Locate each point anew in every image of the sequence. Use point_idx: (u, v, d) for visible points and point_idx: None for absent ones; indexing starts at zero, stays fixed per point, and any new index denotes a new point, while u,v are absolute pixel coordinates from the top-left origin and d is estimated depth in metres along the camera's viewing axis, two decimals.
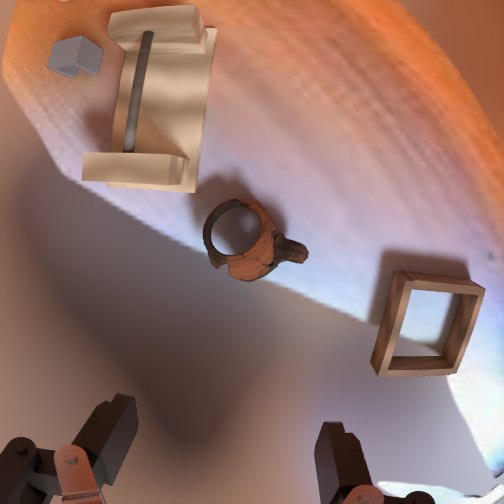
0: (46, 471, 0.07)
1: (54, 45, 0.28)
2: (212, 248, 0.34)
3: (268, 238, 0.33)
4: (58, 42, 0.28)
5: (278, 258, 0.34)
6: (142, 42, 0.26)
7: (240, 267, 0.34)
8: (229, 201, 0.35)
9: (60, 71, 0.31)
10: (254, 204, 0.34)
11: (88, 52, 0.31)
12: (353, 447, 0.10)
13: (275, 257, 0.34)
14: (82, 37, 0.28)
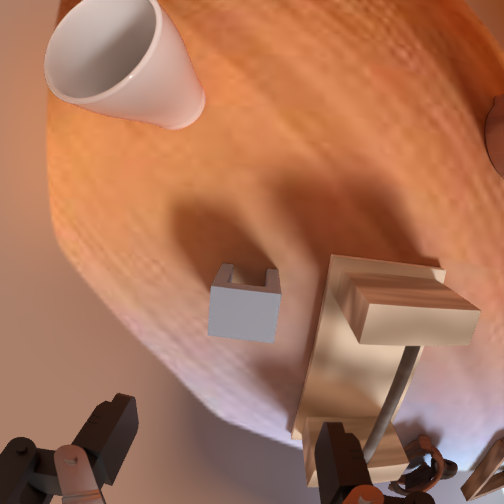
0: (46, 471, 0.07)
1: (214, 295, 0.22)
2: (399, 489, 0.28)
3: None
4: (224, 291, 0.22)
5: (439, 479, 0.29)
6: (409, 360, 0.21)
7: None
8: (416, 454, 0.29)
9: None
10: (436, 455, 0.28)
11: None
12: (353, 447, 0.10)
13: None
14: (280, 297, 0.22)
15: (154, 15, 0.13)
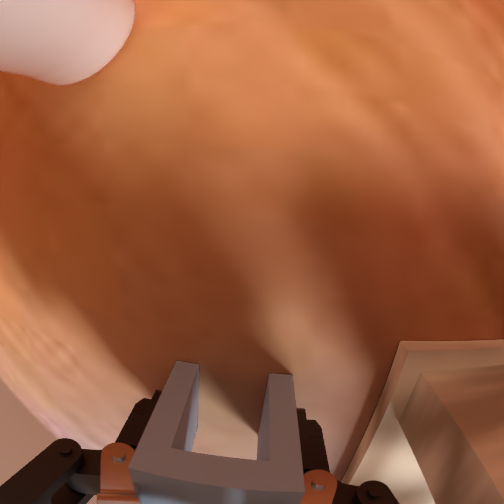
0: (87, 476, 0.07)
1: (142, 482, 0.07)
2: None
3: None
4: (162, 480, 0.07)
5: None
6: None
7: None
8: None
9: None
10: None
11: None
12: (314, 434, 0.11)
13: None
14: (303, 494, 0.07)
15: None
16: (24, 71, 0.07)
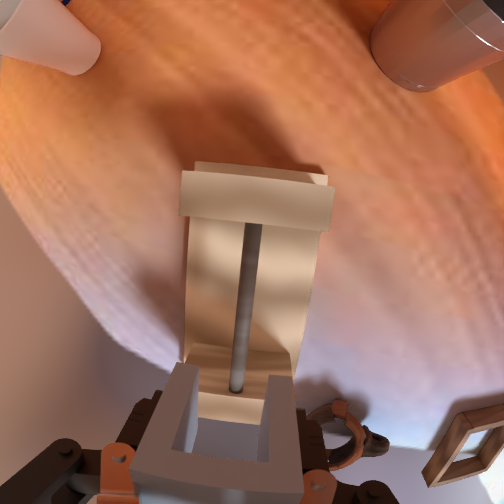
0: (87, 476, 0.07)
1: (142, 483, 0.07)
2: None
3: None
4: (162, 481, 0.07)
5: (365, 456, 0.30)
6: (247, 243, 0.21)
7: None
8: (324, 419, 0.30)
9: None
10: (350, 422, 0.29)
11: None
12: (314, 434, 0.11)
13: (363, 455, 0.30)
14: (302, 496, 0.07)
15: None
16: (62, 69, 0.23)
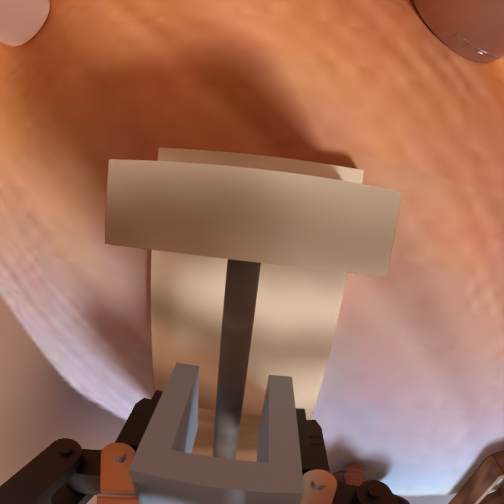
0: (87, 476, 0.07)
1: (142, 483, 0.07)
2: None
3: None
4: (162, 482, 0.07)
5: None
6: (232, 296, 0.11)
7: None
8: None
9: None
10: None
11: None
12: (314, 434, 0.11)
13: None
14: (302, 496, 0.07)
15: None
16: None
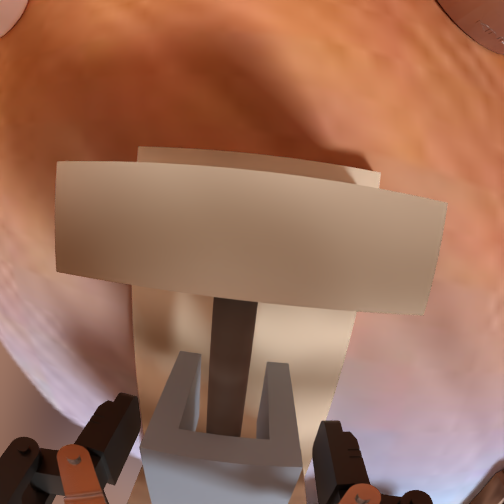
0: (49, 471, 0.07)
1: (151, 461, 0.08)
2: None
3: None
4: (171, 458, 0.08)
5: None
6: (221, 342, 0.08)
7: None
8: None
9: None
10: None
11: None
12: (351, 446, 0.10)
13: None
14: (301, 470, 0.08)
15: None
16: None
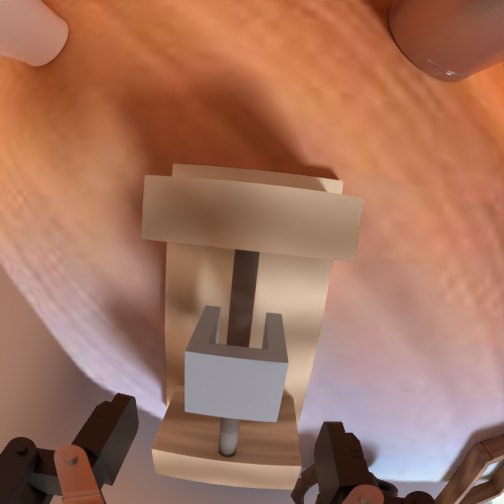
0: (46, 471, 0.07)
1: (191, 363, 0.15)
2: None
3: None
4: (205, 359, 0.15)
5: None
6: (238, 278, 0.15)
7: None
8: None
9: None
10: None
11: None
12: (353, 447, 0.10)
13: None
14: (287, 367, 0.15)
15: None
16: (21, 59, 0.17)
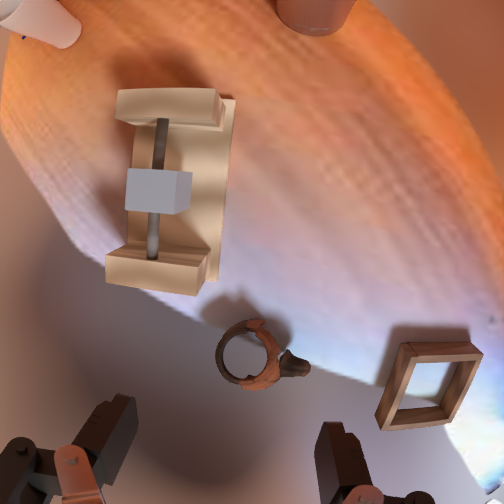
0: (46, 471, 0.07)
1: (130, 175, 0.28)
2: (225, 373, 0.36)
3: (274, 363, 0.36)
4: (136, 171, 0.27)
5: (284, 375, 0.37)
6: (157, 132, 0.28)
7: (251, 386, 0.36)
8: (236, 329, 0.37)
9: None
10: (260, 333, 0.36)
11: (182, 189, 0.30)
12: (353, 447, 0.10)
13: (281, 375, 0.37)
14: (177, 173, 0.27)
15: None
16: (53, 43, 0.30)
